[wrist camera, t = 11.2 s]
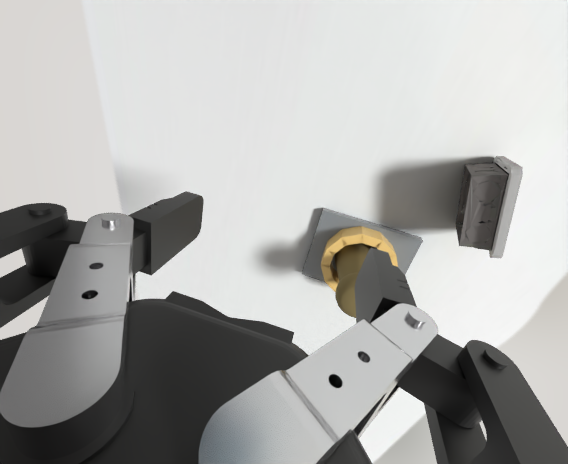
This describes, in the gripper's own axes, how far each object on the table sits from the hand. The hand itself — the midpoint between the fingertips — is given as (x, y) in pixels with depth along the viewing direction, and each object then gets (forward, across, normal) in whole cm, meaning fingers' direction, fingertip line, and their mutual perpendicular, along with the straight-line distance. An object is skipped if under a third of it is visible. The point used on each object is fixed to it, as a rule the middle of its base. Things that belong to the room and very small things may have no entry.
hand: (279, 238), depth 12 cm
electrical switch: (+26, -19, 0) cm, 32 cm away
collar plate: (+25, -9, +12) cm, 29 cm away
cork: (+24, -9, +12) cm, 28 cm away
